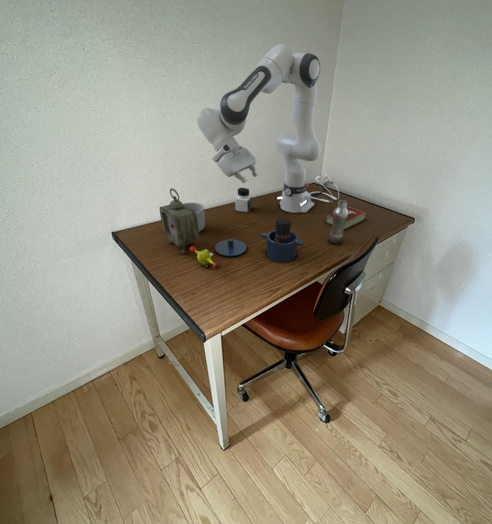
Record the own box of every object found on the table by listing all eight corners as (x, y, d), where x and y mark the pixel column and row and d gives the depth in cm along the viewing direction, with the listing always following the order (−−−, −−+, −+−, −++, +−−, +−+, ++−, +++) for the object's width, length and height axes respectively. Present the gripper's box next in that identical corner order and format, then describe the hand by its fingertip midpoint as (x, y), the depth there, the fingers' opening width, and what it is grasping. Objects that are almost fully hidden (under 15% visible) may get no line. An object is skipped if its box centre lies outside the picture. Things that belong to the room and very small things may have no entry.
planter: (193, 221, 134) (190, 200, 127) (211, 228, 129) (209, 207, 123) (173, 230, 125) (169, 208, 118) (192, 238, 120) (188, 215, 114)
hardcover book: (325, 222, 143) (326, 215, 141) (346, 212, 156) (348, 205, 154) (343, 230, 137) (345, 223, 135) (364, 219, 150) (366, 212, 147)
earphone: (331, 199, 161) (316, 174, 162) (315, 213, 174) (301, 190, 175) (344, 195, 169) (329, 171, 170) (327, 208, 182) (314, 186, 183)
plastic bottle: (325, 239, 128) (332, 199, 116) (337, 237, 130) (345, 198, 119) (331, 246, 123) (339, 205, 112) (344, 244, 125) (353, 204, 114)
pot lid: (224, 239, 121) (223, 230, 119) (251, 245, 118) (251, 236, 116) (209, 253, 111) (208, 244, 108) (238, 260, 108) (238, 250, 105)
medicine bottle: (247, 212, 146) (247, 191, 140) (235, 210, 147) (234, 189, 141) (251, 207, 152) (251, 187, 146) (239, 206, 153) (239, 185, 146)
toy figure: (226, 273, 100) (225, 258, 97) (213, 279, 97) (212, 264, 93) (198, 253, 110) (196, 239, 106) (186, 258, 106) (184, 244, 102)
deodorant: (290, 255, 113) (293, 223, 104) (277, 257, 111) (279, 225, 102) (285, 248, 117) (287, 217, 109) (272, 250, 115) (273, 218, 107)
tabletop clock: (166, 242, 115) (154, 185, 101) (185, 236, 121) (177, 181, 107) (182, 257, 107) (171, 197, 93) (202, 249, 112) (195, 192, 98)
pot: (266, 242, 121) (267, 226, 116) (304, 251, 117) (306, 234, 113) (256, 256, 111) (256, 238, 106) (297, 266, 107) (299, 248, 103)
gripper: (237, 150, 116) (257, 176, 118) (209, 160, 100) (233, 190, 103) (246, 140, 112) (267, 168, 115) (218, 149, 96) (243, 181, 99)
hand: (251, 178), depth 109 cm, fingers open, 8 cm apart
